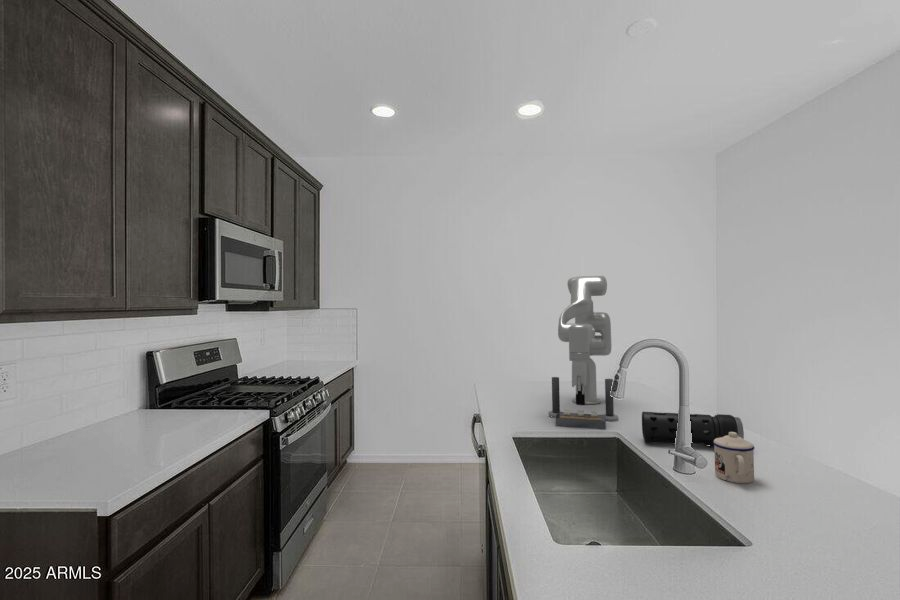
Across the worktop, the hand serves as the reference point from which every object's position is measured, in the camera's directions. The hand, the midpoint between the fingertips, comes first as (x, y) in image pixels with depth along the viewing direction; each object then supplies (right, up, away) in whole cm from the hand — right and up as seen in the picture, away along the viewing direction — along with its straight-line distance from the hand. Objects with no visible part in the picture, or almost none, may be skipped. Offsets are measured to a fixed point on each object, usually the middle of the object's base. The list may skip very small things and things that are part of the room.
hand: (580, 404), depth 172 cm
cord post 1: (-6, -8, +14) cm, 17 cm away
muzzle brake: (+27, -7, -28) cm, 40 cm away
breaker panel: (0, -8, 0) cm, 8 cm away
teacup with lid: (+23, -6, -57) cm, 62 cm away
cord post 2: (+14, -8, +7) cm, 17 cm away
